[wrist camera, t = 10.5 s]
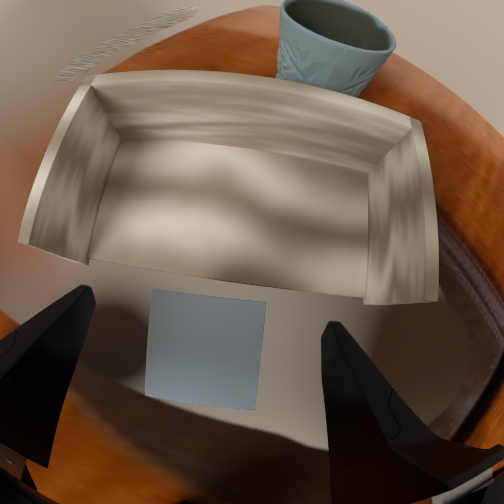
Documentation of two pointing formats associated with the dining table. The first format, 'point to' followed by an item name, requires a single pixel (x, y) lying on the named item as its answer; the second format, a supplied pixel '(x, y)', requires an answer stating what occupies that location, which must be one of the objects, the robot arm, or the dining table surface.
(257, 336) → the block
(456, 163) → the dining table surface
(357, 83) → the grey teal cup
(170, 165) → the crate
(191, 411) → the dining table surface
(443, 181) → the dining table surface
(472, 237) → the dining table surface
